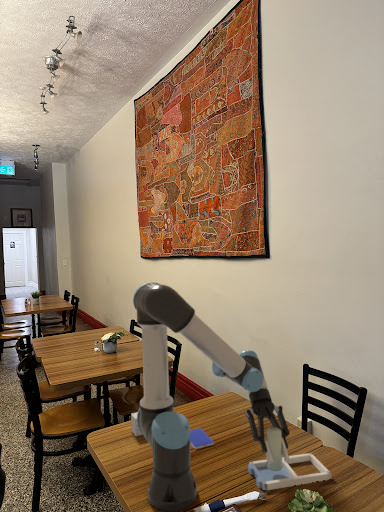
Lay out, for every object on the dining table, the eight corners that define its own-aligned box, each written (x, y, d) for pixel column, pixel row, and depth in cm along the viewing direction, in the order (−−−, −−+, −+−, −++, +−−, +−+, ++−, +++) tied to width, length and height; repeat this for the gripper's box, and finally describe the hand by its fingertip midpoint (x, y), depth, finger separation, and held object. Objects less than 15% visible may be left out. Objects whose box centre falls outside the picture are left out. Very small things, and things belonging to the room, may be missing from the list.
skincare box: (135, 437, 148) (134, 419, 148) (131, 430, 153) (130, 413, 153) (149, 433, 151) (149, 415, 150) (144, 427, 156) (144, 410, 156)
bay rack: (260, 491, 113) (260, 485, 113) (246, 468, 125) (246, 462, 125) (331, 479, 118) (331, 473, 118) (311, 458, 130) (311, 452, 130)
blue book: (183, 432, 149) (195, 446, 138) (201, 427, 152) (214, 441, 141) (183, 435, 149) (195, 450, 138) (201, 431, 152) (214, 445, 141)
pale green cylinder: (276, 473, 117) (275, 436, 117) (263, 466, 121) (263, 430, 121) (285, 466, 120) (284, 430, 120) (272, 460, 124) (271, 425, 124)
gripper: (277, 393, 137) (300, 461, 121) (232, 398, 134) (250, 469, 118) (284, 384, 132) (308, 454, 116) (237, 389, 128) (256, 462, 112)
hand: (279, 461), depth 117 cm, fingers closed on pale green cylinder, 5 cm apart
